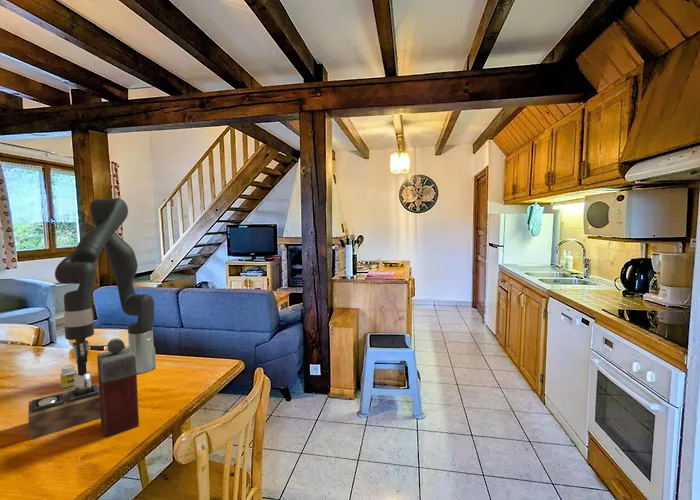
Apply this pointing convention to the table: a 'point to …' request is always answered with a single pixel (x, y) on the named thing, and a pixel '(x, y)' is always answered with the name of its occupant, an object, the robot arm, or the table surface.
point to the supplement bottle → (68, 377)
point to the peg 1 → (47, 401)
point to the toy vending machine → (117, 388)
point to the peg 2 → (82, 384)
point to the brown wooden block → (63, 412)
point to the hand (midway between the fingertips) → (82, 373)
